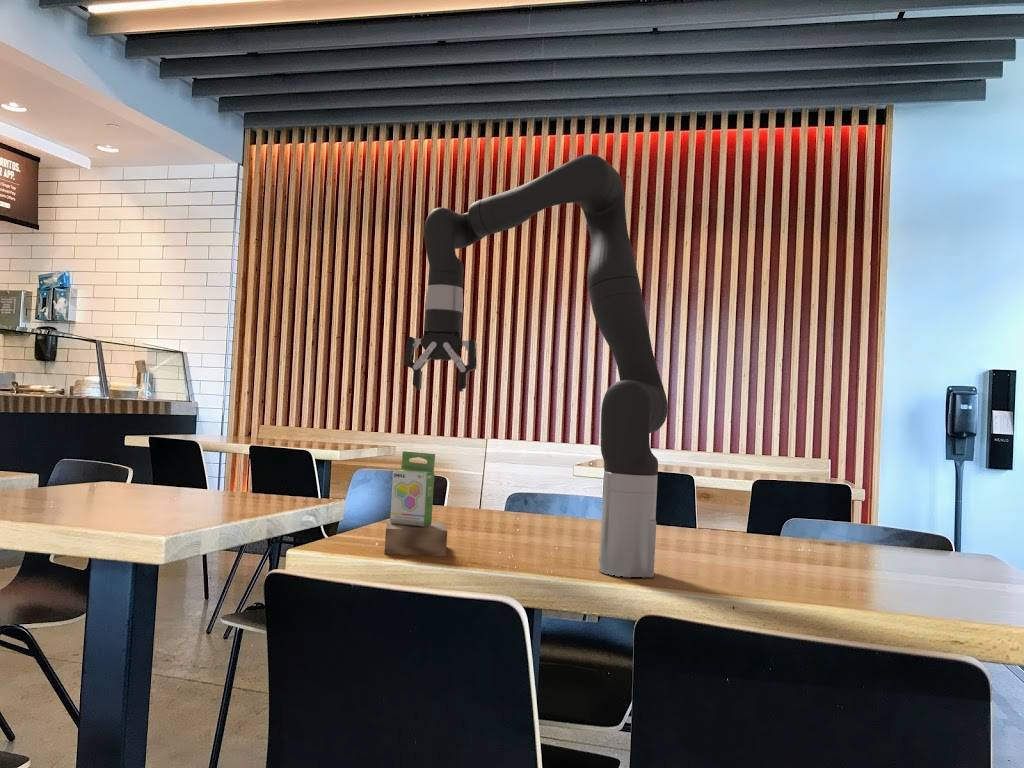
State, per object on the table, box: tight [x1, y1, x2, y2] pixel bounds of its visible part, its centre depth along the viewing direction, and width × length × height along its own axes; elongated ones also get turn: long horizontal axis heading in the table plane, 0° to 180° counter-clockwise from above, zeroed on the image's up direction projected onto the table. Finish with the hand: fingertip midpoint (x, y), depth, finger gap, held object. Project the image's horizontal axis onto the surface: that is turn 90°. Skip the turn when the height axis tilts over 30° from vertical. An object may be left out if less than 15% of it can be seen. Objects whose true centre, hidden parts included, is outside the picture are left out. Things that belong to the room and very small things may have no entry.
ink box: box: [389, 450, 436, 527], centre depth 151 cm, size 7×4×13 cm, turn 72°
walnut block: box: [383, 519, 448, 557], centre depth 150 cm, size 11×11×5 cm
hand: (439, 390), depth 161 cm, fingers open, 8 cm apart
